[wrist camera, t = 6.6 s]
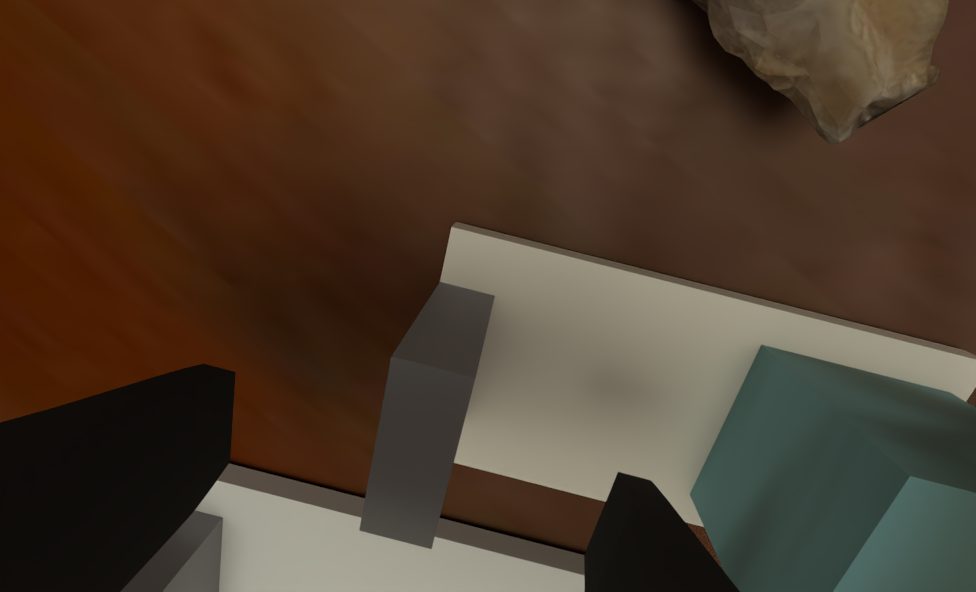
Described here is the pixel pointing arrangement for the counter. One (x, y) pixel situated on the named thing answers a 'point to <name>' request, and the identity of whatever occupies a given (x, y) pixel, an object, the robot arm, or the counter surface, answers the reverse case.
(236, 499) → the cream and grey bookend
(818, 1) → the seashell
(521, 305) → the cream strip
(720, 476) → the teal block
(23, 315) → the counter surface
